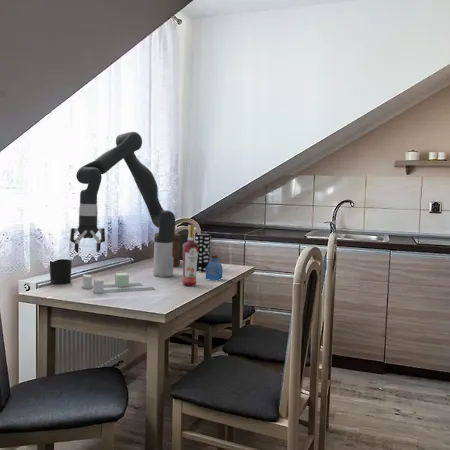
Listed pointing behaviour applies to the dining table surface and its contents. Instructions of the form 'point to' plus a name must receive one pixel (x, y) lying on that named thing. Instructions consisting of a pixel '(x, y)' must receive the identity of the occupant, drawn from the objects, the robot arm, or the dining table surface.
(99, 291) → the strip
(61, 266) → the pen holder
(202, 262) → the spotted tube
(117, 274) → the block
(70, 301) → the dining table surface
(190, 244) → the liquor
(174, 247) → the wooden container
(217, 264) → the perfume bottle
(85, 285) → the strip
